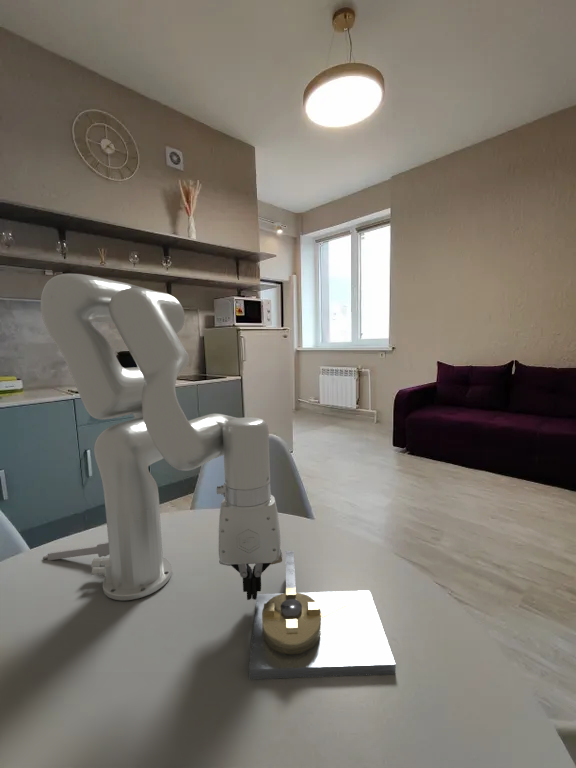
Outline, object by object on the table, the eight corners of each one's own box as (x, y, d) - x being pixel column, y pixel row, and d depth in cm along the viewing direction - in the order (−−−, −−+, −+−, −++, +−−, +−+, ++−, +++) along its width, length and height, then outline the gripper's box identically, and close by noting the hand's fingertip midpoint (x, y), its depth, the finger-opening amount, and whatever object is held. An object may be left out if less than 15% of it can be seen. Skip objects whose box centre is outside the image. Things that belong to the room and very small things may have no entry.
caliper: (130, 564, 77) (131, 534, 77) (127, 567, 76) (128, 536, 76) (46, 558, 80) (47, 529, 81) (42, 560, 79) (43, 530, 80)
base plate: (249, 679, 49) (248, 668, 49) (257, 602, 64) (257, 593, 64) (395, 674, 49) (395, 663, 49) (369, 598, 64) (369, 589, 64)
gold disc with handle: (260, 655, 51) (259, 630, 51) (267, 567, 71) (266, 548, 71) (324, 652, 51) (323, 628, 51) (312, 565, 72) (312, 547, 71)
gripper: (198, 503, 57) (204, 611, 59) (293, 500, 57) (296, 608, 59) (208, 485, 64) (213, 581, 66) (292, 482, 64) (295, 579, 66)
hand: (252, 594), depth 62 cm, fingers closed
